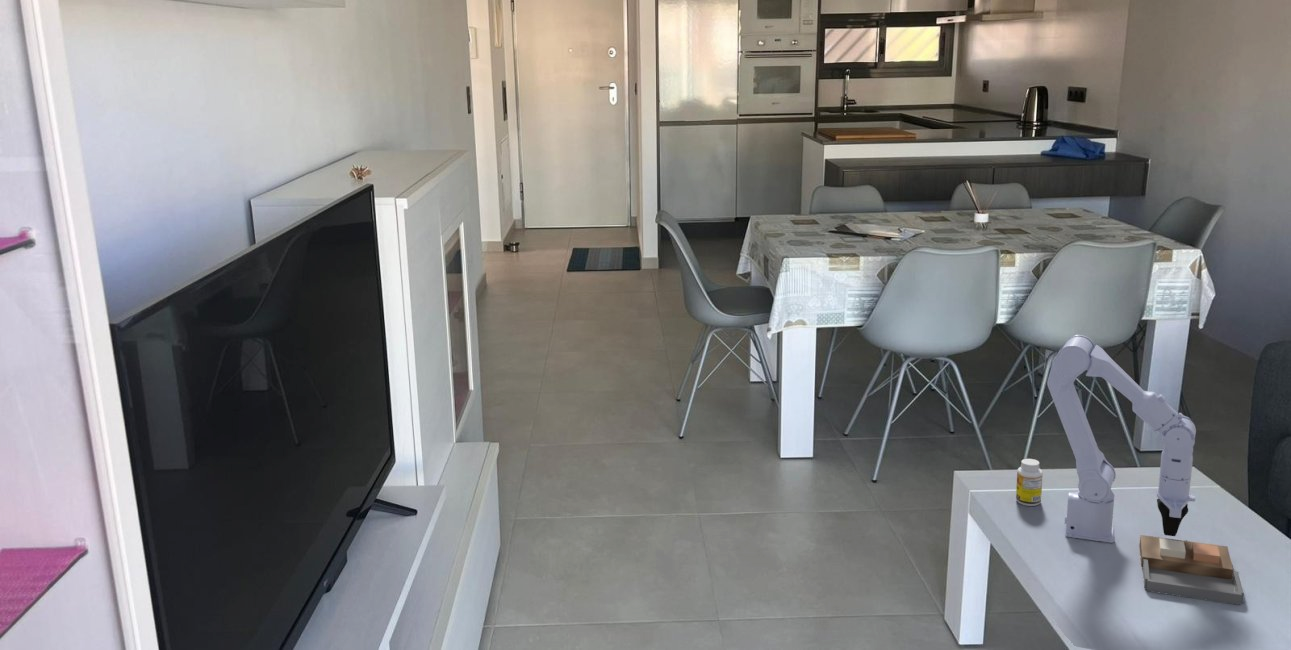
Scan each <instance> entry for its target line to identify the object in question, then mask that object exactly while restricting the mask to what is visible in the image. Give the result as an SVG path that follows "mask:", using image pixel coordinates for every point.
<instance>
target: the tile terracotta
mask: <svg viewBox="0 0 1291 650" xmlns="http://www.w3.org/2000/svg"><path fill="white" fill-rule="evenodd" d="M1199 543H1200V542H1198V543H1192V555H1193V560H1197V561H1204V562H1211V563H1219V561H1220V554H1219V550H1218V546H1214V545H1215V544H1213V545H1206V544H1207V543H1205V544H1199Z"/></svg>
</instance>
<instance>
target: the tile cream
mask: <svg viewBox="0 0 1291 650" xmlns="http://www.w3.org/2000/svg"><path fill="white" fill-rule="evenodd" d="M1161 538H1162V537H1160V538H1159V552H1160V555H1161V556H1168V557H1176V558H1183V559H1185V554H1186V551H1185V545H1184V542H1183V541H1184V540H1183V541H1176V540H1177V539H1175V540H1168V539H1169V538H1168V539H1161Z"/></svg>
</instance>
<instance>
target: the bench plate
mask: <svg viewBox="0 0 1291 650" xmlns="http://www.w3.org/2000/svg"><path fill="white" fill-rule="evenodd" d="M1159 538H1161V539H1168V540H1176V541H1183V542H1184V545H1185V551H1186V554H1185V559H1183V558H1176V557H1168V556H1161V555H1160V552H1159ZM1192 543H1199V544H1206V545H1214V546H1218V550H1219V554H1220V561H1219V563H1211V562H1204V561H1197V560H1193V555H1192ZM1138 546H1139V555H1140V556H1141V558H1140V565H1141V567H1143V559H1147V560H1148V567H1149V568H1154V569H1160V570H1167V571H1174V572H1181V573H1188V574H1195V575H1202V576H1209V577H1216V578H1223V579H1230V580H1232V579H1233V572H1234V567H1233V564H1232V559H1231V556H1230V552H1229V548H1228V546H1225V545H1221V544H1220V545H1219V544H1211V543H1205V542H1199V541H1196V542H1195V541H1188V540H1182V539H1176V538H1175V539H1174V538H1166V537H1159V536H1153V535H1152V536H1150V535H1146V534H1140V535H1139V544H1138Z"/></svg>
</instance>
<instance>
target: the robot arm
mask: <svg viewBox="0 0 1291 650" xmlns="http://www.w3.org/2000/svg"><path fill="white" fill-rule="evenodd" d="M1085 371H1087V372H1086V374H1085V377H1095V378H1096V377H1099V378H1102V379H1104V380H1105V381H1106V383H1108V384H1109V385H1110V386H1111V387H1113V388H1115V389H1116V391H1117V392H1119V393H1121V395H1123V396H1124V397H1125V398H1126V399H1128V401H1130V402H1131V403H1132V407H1131V408H1132V412H1133V413H1134V414H1136V416H1138V418H1140V419H1141V420H1142V421H1143V422H1144V423H1145V424H1147V426H1148V427H1149V428H1151V429H1152V430H1153V431H1154V432H1155V433H1157V434H1159V435H1160V436H1161V442H1162V444H1163V448H1162V449H1163V450H1162V451H1161V454H1160V455H1161V456H1160V467H1159V478H1158V489H1157V490H1156V497H1157V499H1156V503H1157V505H1156V506H1157V508H1158V511H1159V513H1160V515H1161V522H1162V530H1163V534H1164V535H1165V536H1169V537H1170V536H1171V537H1176V536H1177V534H1178V532H1179V531H1178V530H1179V528H1180V526H1181V523H1182V520H1183V519H1184V517H1185V516H1187V514H1188V512H1189V508H1188V506H1189V504H1188V503H1189V502H1195V501H1196V495H1195V494H1192V493H1191V494H1190V492H1191V491H1190V489H1191V481H1192V480H1191V479H1192V470H1193V469H1192V468H1193V462H1194V461H1193V460H1194V455H1193V454H1194V446H1195V443H1196V441H1195V440H1196V435H1197V434H1196V433H1197V429H1196V428H1197V427H1196V425H1195V423H1194V422H1193V421H1192V419H1191V418H1190V417H1188V416H1186V415H1184V414H1183V413H1182V412H1177V411H1176V410H1175V409H1174V408H1173V407H1172V406H1171V405H1169V403H1167V402H1166V397H1165V396H1164V395H1163V394H1161V393H1160V394H1157V393H1156V392H1155V391H1149V390H1144V389H1143V388H1142V387H1141V386H1140V385H1139V384H1138V383H1137V382H1136V381H1134V379H1133V378H1132V377H1131V376H1130V375H1129V374H1128V373H1126V371H1125V370H1124V369H1123V368H1122V367H1120V365H1118V363H1116V361H1114V360H1113V359H1112V358H1111V357H1110V356H1109V354H1108V353H1107V352H1106V351H1105V350H1104V349H1103V348H1102V347H1101V346H1100V345H1098V344H1096V345H1095V343H1094V341H1093V340H1092V339H1091V338H1090V337H1088V336H1086V335H1082V334H1075V335H1072V336H1070V337H1069V338H1068V339H1067V340H1066V341H1065V342H1064V343H1063V344H1062V346H1061V347H1060V348H1059V351H1058V353H1057V354H1056V355H1055V357H1054V358H1053V359H1052V364H1051V367H1050V371H1049V374H1048V377H1047V382H1046V384H1047V388H1048V390H1049V393H1050V395H1051V397H1052V398H1051V399H1052V401H1053V404H1054V406H1055V409H1056V411H1057V415H1058V417H1059V419H1060V421H1061V425H1062V426H1063V427H1062V428H1063V429H1064V432H1065V434H1066V437H1067V441H1068V442H1069V445H1070V448H1071V450H1072V452H1073V455H1074V457H1075V465H1076V474H1077V476H1078V483H1077V484H1078V485H1077V486H1078V487H1077V489H1078V490H1077V491H1069V492H1068V493H1067V509H1066V515H1064V525H1066V526H1065V537H1067V538H1072V539H1081V540H1089V541H1095V542H1103V543H1110V544H1113V543H1114V540H1115V539H1114V538H1115V537H1114V525H1113V521H1114V519H1113V518H1114V505H1115V494H1114V492H1113V491H1112V486H1113V484H1114V482H1115V480H1116V476H1117V475H1116V470H1115V468H1114V466H1113V465H1112V464H1111V463H1110V462H1109V461H1108V460H1107V459H1106V457H1105V454H1104V453H1103V452H1102V451H1101V450H1100V449H1099V446H1098V444H1097V442H1096V439H1095V436H1094V433H1093V431H1092V428H1091V426H1090V423H1089V420H1088V418H1087V416H1086V415H1087V414H1086V413H1085V409H1084V408H1083V406H1082V401H1081V400H1080V397H1079V395H1078V391H1077V390H1076V387H1075V383H1074V382H1075V381H1076V379H1077V378H1078V377H1079V376H1080V375H1082V374H1083V373H1084V372H1085Z"/></svg>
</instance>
